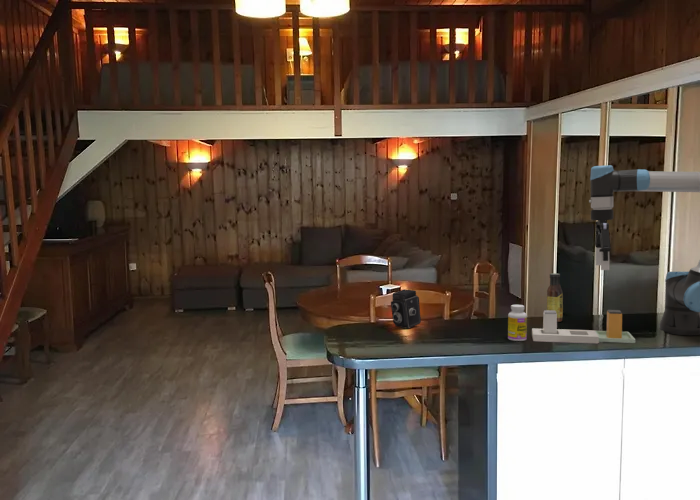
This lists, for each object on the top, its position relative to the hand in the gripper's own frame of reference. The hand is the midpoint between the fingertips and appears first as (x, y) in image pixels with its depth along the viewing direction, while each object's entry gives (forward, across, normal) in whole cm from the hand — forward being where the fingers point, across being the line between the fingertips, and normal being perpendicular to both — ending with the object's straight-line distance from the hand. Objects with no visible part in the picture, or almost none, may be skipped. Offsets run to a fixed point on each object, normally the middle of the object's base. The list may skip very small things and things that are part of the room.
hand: (602, 267), depth 220 cm
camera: (+25, -7, -74) cm, 79 cm away
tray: (+26, +1, +4) cm, 27 cm away
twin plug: (+25, +5, -19) cm, 32 cm away
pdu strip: (+26, +5, -14) cm, 30 cm away
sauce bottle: (+26, -29, -15) cm, 42 cm away
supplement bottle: (+26, +8, -30) cm, 40 cm away
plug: (+26, +1, +4) cm, 26 cm away
